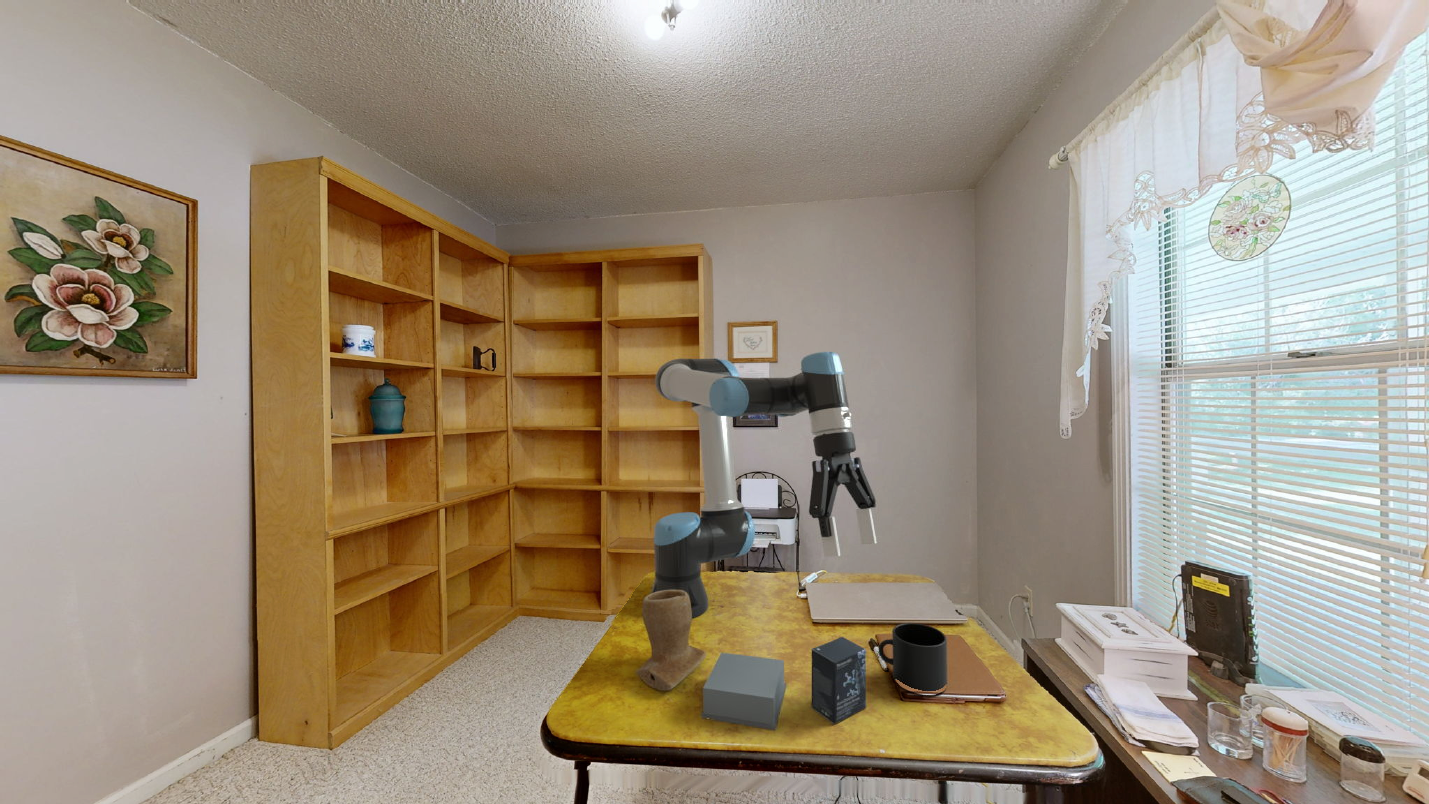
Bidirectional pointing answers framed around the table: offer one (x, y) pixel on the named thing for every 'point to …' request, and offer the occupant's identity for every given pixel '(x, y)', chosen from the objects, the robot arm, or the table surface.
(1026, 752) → the table surface
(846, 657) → the box
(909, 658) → the mug
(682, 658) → the stone cup
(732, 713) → the plinth
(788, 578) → the table surface
